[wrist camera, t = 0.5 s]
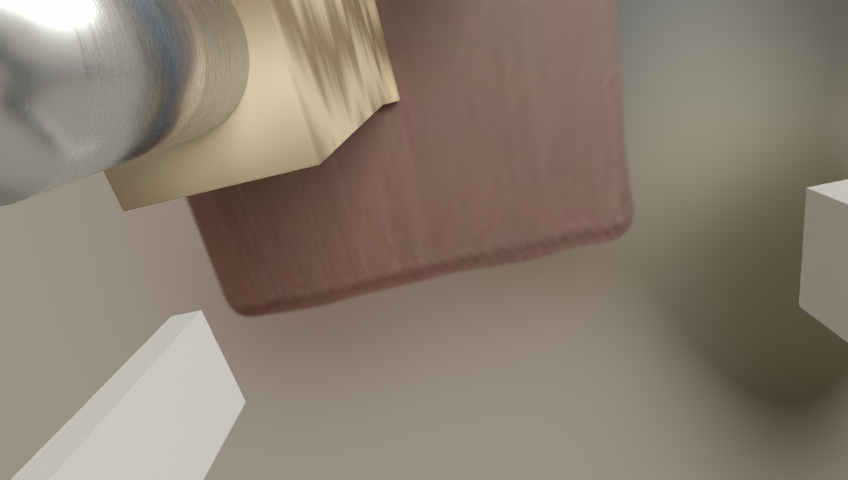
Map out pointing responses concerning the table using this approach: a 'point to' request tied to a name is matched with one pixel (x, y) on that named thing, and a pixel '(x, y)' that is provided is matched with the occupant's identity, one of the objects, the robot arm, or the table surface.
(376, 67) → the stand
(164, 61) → the grey round-headed handle
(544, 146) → the table surface
